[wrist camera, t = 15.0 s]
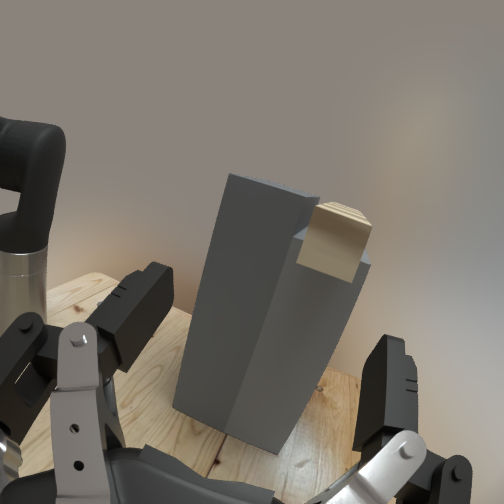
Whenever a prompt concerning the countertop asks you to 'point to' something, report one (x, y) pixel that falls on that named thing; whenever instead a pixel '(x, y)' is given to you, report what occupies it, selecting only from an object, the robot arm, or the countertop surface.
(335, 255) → the birch bar
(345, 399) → the countertop surface
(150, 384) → the countertop surface
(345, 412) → the countertop surface
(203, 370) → the block
